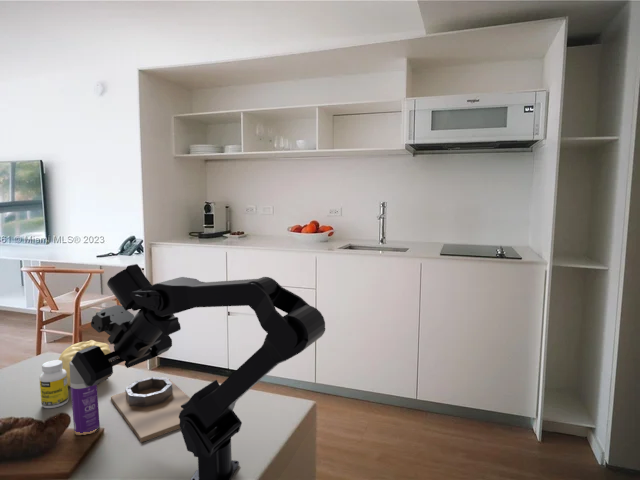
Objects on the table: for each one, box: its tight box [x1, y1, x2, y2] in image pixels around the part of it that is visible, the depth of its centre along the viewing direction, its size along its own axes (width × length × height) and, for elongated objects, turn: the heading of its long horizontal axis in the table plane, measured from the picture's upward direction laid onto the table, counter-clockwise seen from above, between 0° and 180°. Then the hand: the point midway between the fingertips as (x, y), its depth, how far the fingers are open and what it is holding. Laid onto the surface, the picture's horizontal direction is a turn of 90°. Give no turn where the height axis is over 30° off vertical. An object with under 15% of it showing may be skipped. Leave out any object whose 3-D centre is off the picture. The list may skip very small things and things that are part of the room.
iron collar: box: [124, 376, 173, 407], centre depth 101 cm, size 10×10×2 cm
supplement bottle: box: [39, 359, 70, 409], centre depth 100 cm, size 5×5×10 cm
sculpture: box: [58, 339, 112, 388], centre depth 110 cm, size 12×12×11 cm
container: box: [69, 361, 101, 433], centre depth 88 cm, size 5×5×15 cm
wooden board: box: [110, 378, 191, 443], centre depth 98 cm, size 22×14×1 cm, turn 40°
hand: (107, 374), depth 85 cm, fingers open, 9 cm apart
